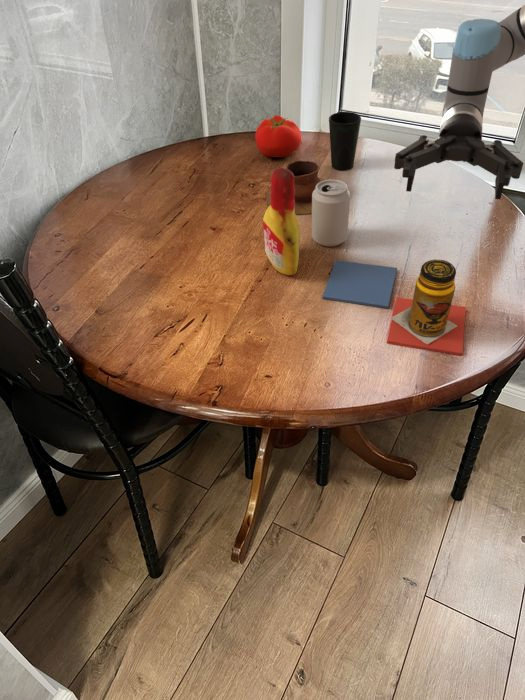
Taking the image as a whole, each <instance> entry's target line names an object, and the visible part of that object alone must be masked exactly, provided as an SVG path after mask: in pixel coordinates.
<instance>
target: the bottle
mask: <svg viewBox="0 0 525 700" xmlns="http://www.w3.org/2000/svg"><path fill="white" fill-rule="evenodd" d="M270 187H271V205H270V204H269V205H268V207H267V209H266V210H265V213H264V215H263V218H262V228H263V239H264V250H265V254H266V257H267V259H268V260H269V262H270V263H271V265H272V266H273V268H274V269H275V270H276V271H277V272H279V273H280V274H282V275H285V276H292V275H295V274H296V273H297V271H298V266H299V260H300V256H299V255H300V234H301V233H300V232H301V231H300V230H301V228H300V222H299V220H298V217H297V214H295V200H294V197H295V189H294V174H293V173H292V172H291V171H290V170H288V169H286V167H278V168H277V169H275V170H273V171H272V173H271V178H270Z"/></svg>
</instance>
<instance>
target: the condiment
mask: <svg viewBox="0 0 525 700" xmlns="http://www.w3.org/2000/svg"><path fill="white" fill-rule="evenodd" d="M456 275H457V269H456V267H455V266H454V264H452V263H451V262H449V261H447V260H446V259H430V260H427V261H425V262H424V263H423V264H422V265H421V267H420V272H419V276H418V277H417V278H416V281H415V286H414V292H413V296H412V297H413V298H412V299H413V303H412V306H411V307H410V308H408V309H406V310H404V311H403V312H401V313H399V314H397V315H396V316H393V317H392V316H391V317H390V319H391V320H394V321H395V322H396V323H398V324H399V325H401V326H402V327H404V328H405V329H406V330H407V331H409V332H410V333H411V334H413V335H414V336H415V337H417V338H418V339H420V340H421V341H422V342H424V343H425V344H429V343H431V342H433V341H434V340H436V339H438V338H439V337H441V336H443V335H444V334H446V333H448V332H449V331H451V330H452V329H454V328H455V327H457V325H455V324H454V323H452V322H450V321H449V320H448V316H449V312H450V307H451V305H452V303H453V299H454V295H455V290H456V284H455V281H456Z"/></svg>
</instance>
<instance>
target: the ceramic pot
mask: <svg viewBox="0 0 525 700" xmlns="http://www.w3.org/2000/svg"><path fill="white" fill-rule="evenodd" d="M285 168H286V169H288V170H290V171H291V172H292V173H293V174H294V189H295V197H294V200H295V215H302V214H303V215H304V214H305V215H307V214H308V215H309V214H312V193H313V191H314V190H315V187H316V185H317V184H318V183H319V182H321V181H324V180H325V179H324V178H321V177H319V175H318V173H319V171H320V165H319V164H317V163H316V162H314V161H310V160H295V161H291V162H290V163H288V164H287V165H286V166H285ZM264 199H266V202H267V204H268V205H269V206H270V205H271V186H270V187H269V189H267V190H266V192H265V197H264Z"/></svg>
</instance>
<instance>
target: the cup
mask: <svg viewBox="0 0 525 700" xmlns="http://www.w3.org/2000/svg"><path fill="white" fill-rule="evenodd" d="M361 122H362V117H361V115H360V114H358V113H355V112H352V111H339V112H335V113H332V114H330V116H329V117H328V126H329V127H328V128H329V143H330V145H329V146H330V163H331V164H330V165H331V168H332V169H334V170H335V171H339V172H340V171H341V172H344V171H348V170H351V169H353V168H354V165H355V159H356V152H357V146H358V141H359V135H360V129H361Z"/></svg>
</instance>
